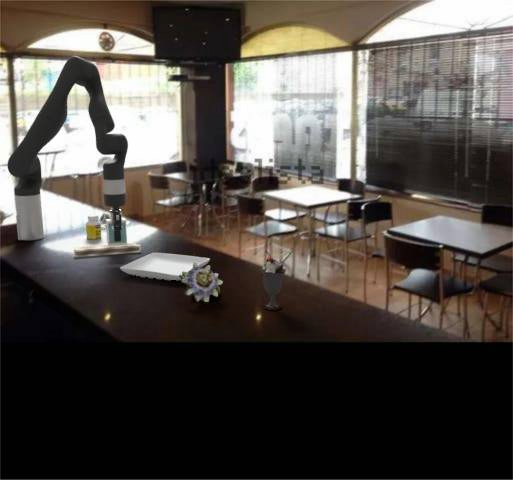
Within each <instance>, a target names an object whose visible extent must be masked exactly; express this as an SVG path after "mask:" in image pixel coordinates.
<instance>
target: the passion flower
mask: <svg viewBox="0 0 513 480" xmlns="http://www.w3.org/2000/svg"><path fill="white" fill-rule="evenodd" d="M187 273H188V275H187V276H185V274H187ZM183 276H184V278H183ZM179 277H180V278H181V280H180V282H181V283H183V284H185V285H186V286H187V288H186V290H185V291H184V295H185V297H187V296H192V295H193V299H194V300H195V301H196V302H197V303H199V302H200V301H202V302H203V301H204V302H208V303H209V301H210V296H211V295H212V296H213V297H215V298H217V297H219V295H220V293H221V289H220V286H221V285H223V282H224V281H223V280H221V279H220V278H218V277H219V273H216V272H215V273H214V272H213V270H211V265H205V267H202V266H200V267H199V266H198V264H197V263H195V262H194V264H193V269H191V271H188V272H184V271H183V272H182V276H181V274H180V275H179ZM191 294H192V295H191ZM218 294H219V295H218ZM204 302H203V303H204Z"/></svg>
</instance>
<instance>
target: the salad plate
mask: <svg viewBox="0 0 513 480" xmlns="http://www.w3.org/2000/svg"><path fill="white" fill-rule="evenodd" d="M210 261H211V259H210V257H209V258H208V257H201V256H196V255H195V256H193V255H184V254H175V253H164V252H152V253H150V254H147V255H144V256H142V257H139V258H138V259H137V258H136V260H133V261H131V262H129V263H127V264H124V265H122V266H120V267H119V269H120V270H121V271H122V272H124V273H126V274H128V275H131V276H135V275H136V276H135V277H138V276H140V277H139V278H145V277H148V278H147V279H153V278H156V279H155V280H162V279H164V281H171V280H176V281H181V280H182V279H181V278H180V277H179V275H180V274H181V276H182V272H183V271H184V272H188V271H191V269H193V264H194V262H195V263H197V264H198V266H199V267H200V266H202V268H204V266H207V264H208V263H209V262H210ZM187 275H188V273H187V274H185V276H186V277H187ZM183 278H184V276H183Z"/></svg>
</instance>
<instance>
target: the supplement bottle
mask: <svg viewBox="0 0 513 480" xmlns="http://www.w3.org/2000/svg"><path fill="white" fill-rule="evenodd" d="M99 219H100V217H99V215H98V214H89V215H87V221H86V222H85V223H86V226H85V227H86V231H85V232H86V239H87V240H90V241H91V240H92V241H96V240H100V239H102V229H101V222H100V221H98V220H99Z"/></svg>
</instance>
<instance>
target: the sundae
mask: <svg viewBox="0 0 513 480" xmlns="http://www.w3.org/2000/svg"><path fill="white" fill-rule="evenodd" d="M264 252H265V253H267V255H268V258H266V260H265V263H264V264H263V266H262V268H259V273H261V275H262V278H263V286H264V289H265V292H266V293H267V294H268V295H269V296H270V297H269V298H270V300H269V303H267V304H268V305H266V304H265V305H266V306H267V307H269V308H270V307H271V308H273V307H278V305H277V304H278V303H276V295H277V294H279V293H280V292H281V289H282V284H283V277H284V275H285V273H286V271H287V270H286V268H284V264H283V263H282V264H281V263H280V262H279V261H278V260H277V259H274V258H273V257H271V255H270V252H268V251H267V250H264ZM280 264H281V265H280Z"/></svg>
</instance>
